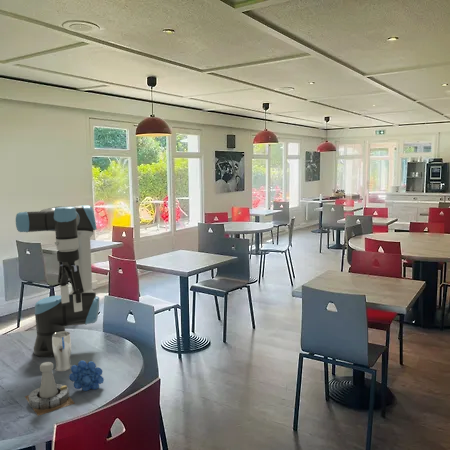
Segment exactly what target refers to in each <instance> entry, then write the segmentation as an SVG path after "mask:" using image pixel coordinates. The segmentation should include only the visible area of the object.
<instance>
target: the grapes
mask: <svg viewBox="0 0 450 450" xmlns="http://www.w3.org/2000/svg"><path fill="white" fill-rule="evenodd" d="M70 372H71V373H70V374H69V375H68V379H69V380H70V381H71V382H73V383H72V384H73V385H72V386H73V387H74V388H75V389H77V390H80V389H81V390H82V391H83V392H88V391H90V390H98V389H99V388H100V385H101V384H103V383H104V380H105V379H104V377H103V376H102V375H103V369H102V368H101V367H98V366H97V364H96V363H95V362H94V361H88V362H86V361H85V360H82V359H81V360H79V361H78V363H77V364H72V365H71V368H70Z"/></svg>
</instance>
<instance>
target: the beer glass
mask: <svg viewBox="0 0 450 450" xmlns="http://www.w3.org/2000/svg"><path fill="white" fill-rule="evenodd" d="M52 348H53V353H54V356H53V357H54V360H55V372H65V371H68V370H71V367H72V364H71V353H72V339H71V333H70V332H69V331H66V330H65V331H61V332H57V333H54V334H53V335H52Z"/></svg>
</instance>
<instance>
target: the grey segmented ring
mask: <svg viewBox="0 0 450 450" xmlns="http://www.w3.org/2000/svg"><path fill="white" fill-rule="evenodd" d="M56 386H57V390H58V394H57V395H56V396H54V397H51V398H45V399H42V398H40V387H41V386H39V387H37V388H36V389H34V390H32V391H30V393H29V394H28V395H29V396H28V395H27V396H28V399H29V402H28V405H29V407H31V409H33V408H34V409H38V410H39V409H40V410H44V409H51V408H54V407H57V406H60V405H62V404H63V403H65V402H66V401H67V400H68V398H69V397H70V389H69V388H68V386H67V384H66V385H65V384H60V383H56Z"/></svg>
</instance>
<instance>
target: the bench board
mask: <svg viewBox="0 0 450 450" xmlns="http://www.w3.org/2000/svg"><path fill="white" fill-rule="evenodd" d="M29 395H30V394H28V395H25V396H24V398H25V399H26V401H27V402H28V403H29V399H28V396H29ZM75 404H76V403H75V401H74V400H73V399H72V398H71V397H70V396H69V398H68V400H67V401H66V402H65V403H63V404H62V405H60V406H57V407H54V408H51V409H44V410H40V409H39V410H38V409H34V408H32V409H33V411H34V412H35V414H36V416H38V417H39V416H42V415H45V414H49V413H51V412H54V411H56V410H59V409H63V408H65V407H68V406H72V405H75Z"/></svg>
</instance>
